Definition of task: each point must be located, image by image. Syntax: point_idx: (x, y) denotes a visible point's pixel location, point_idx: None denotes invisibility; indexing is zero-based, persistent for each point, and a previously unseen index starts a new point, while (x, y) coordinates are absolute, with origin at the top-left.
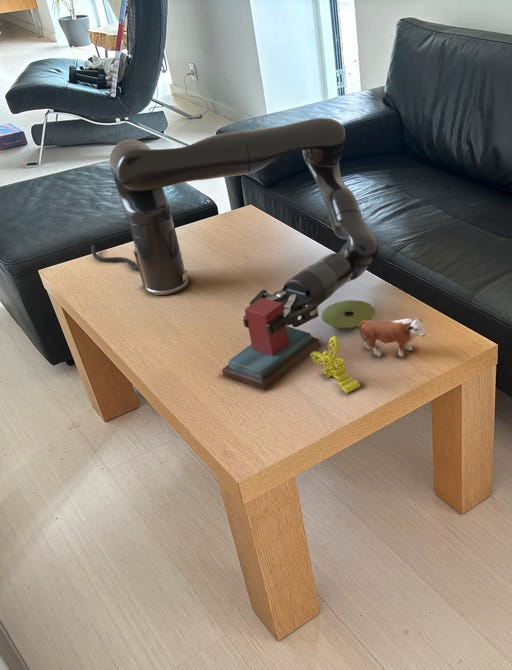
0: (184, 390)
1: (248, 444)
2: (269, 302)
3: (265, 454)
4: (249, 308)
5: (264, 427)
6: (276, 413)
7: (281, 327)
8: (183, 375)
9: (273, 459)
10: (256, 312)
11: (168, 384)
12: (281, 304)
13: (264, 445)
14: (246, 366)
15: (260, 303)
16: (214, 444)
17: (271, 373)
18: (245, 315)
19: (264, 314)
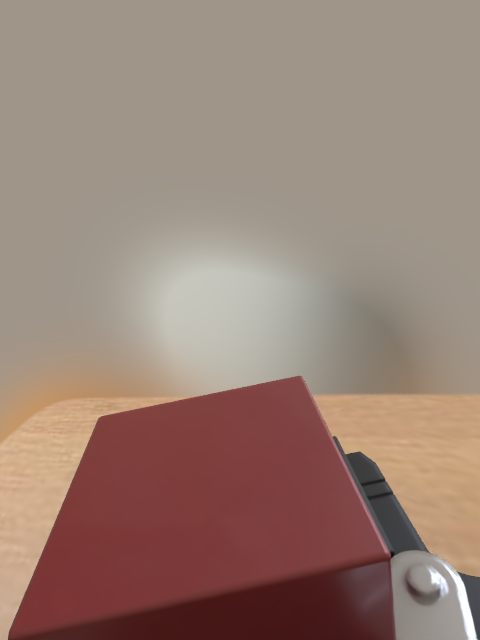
0: (371, 428)
1: (77, 435)
2: (192, 538)
3: (27, 441)
4: (276, 391)
5: (65, 476)
6: (54, 522)
7: None
8: (458, 451)
9: (4, 443)
10: (187, 400)
11: (433, 415)
12: (20, 618)
13: (39, 450)
14: None
15: (268, 471)
16: (146, 403)
17: None
18: (376, 470)
19: (111, 417)
